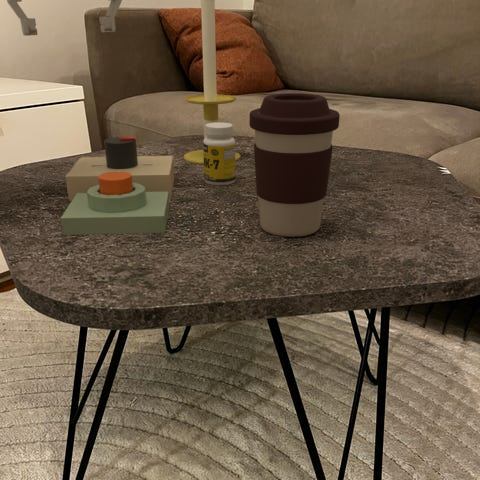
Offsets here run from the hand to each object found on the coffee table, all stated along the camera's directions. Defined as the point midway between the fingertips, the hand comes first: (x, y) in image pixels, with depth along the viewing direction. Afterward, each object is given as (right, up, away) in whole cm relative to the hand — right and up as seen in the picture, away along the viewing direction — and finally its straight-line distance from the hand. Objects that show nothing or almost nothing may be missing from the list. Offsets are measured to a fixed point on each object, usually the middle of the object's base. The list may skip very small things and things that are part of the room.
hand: (70, 33), depth 72 cm
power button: (+5, -19, +1) cm, 20 cm away
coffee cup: (+27, -24, 0) cm, 36 cm away
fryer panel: (+4, -16, +15) cm, 22 cm away
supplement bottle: (+18, -14, +18) cm, 29 cm away
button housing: (+5, -22, +2) cm, 23 cm away
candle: (+16, -6, +32) cm, 36 cm away
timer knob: (+4, -13, +13) cm, 18 cm away
